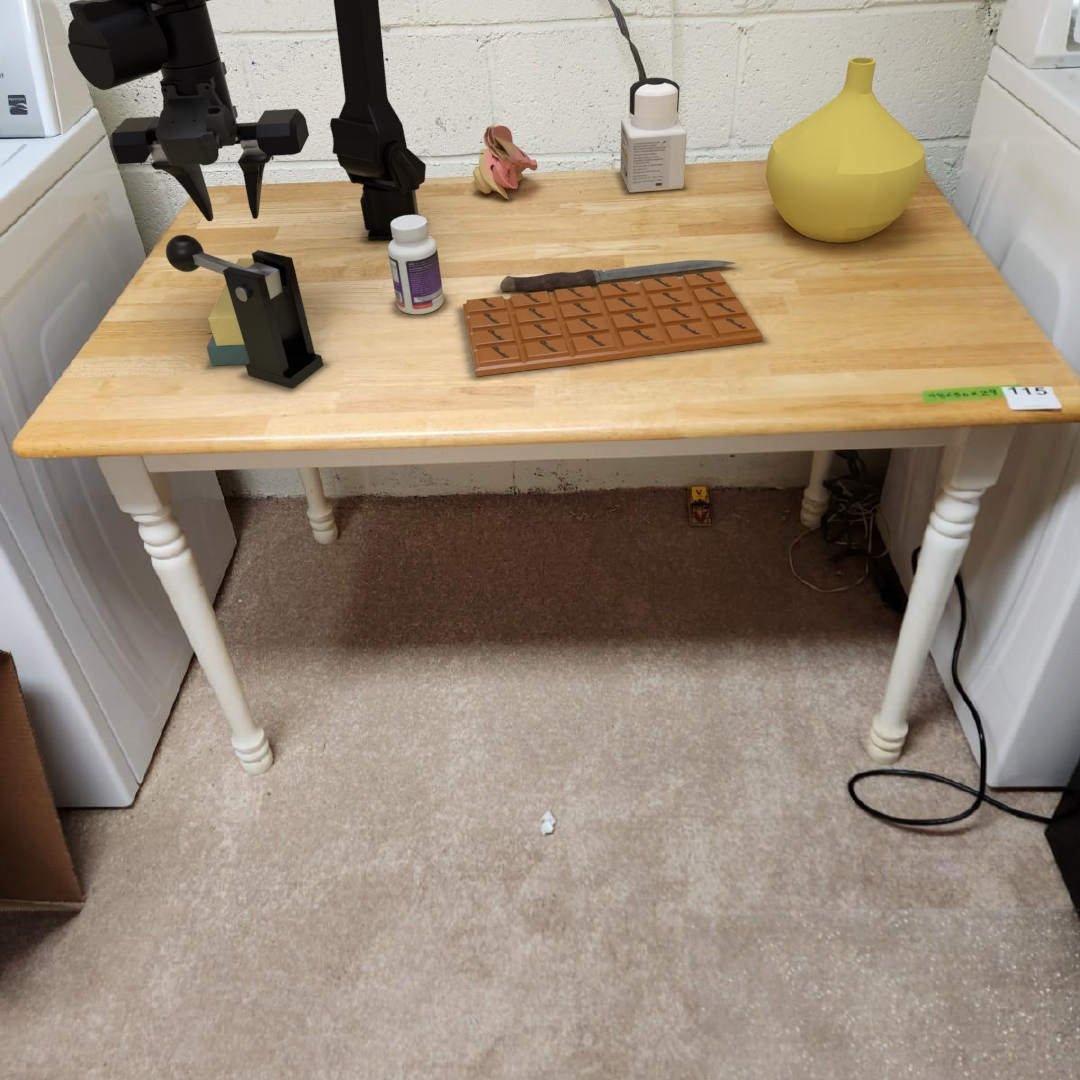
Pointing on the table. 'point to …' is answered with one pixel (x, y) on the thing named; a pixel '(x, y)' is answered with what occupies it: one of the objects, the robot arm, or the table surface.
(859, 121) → the vase
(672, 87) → the container
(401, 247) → the pill bottle
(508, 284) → the knife
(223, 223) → the table surface
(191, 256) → the lever handle
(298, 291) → the stand
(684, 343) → the chocolate bar
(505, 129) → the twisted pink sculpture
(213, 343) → the butter dish
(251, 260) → the butter
